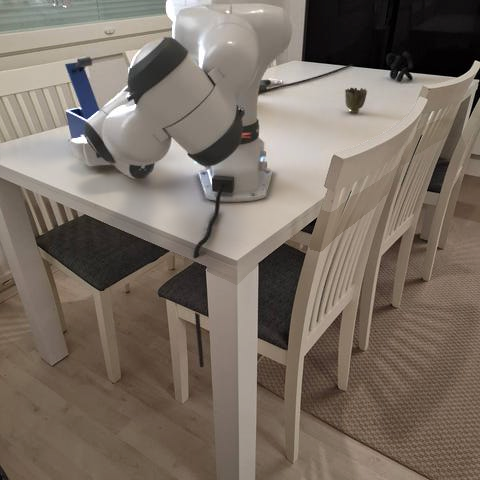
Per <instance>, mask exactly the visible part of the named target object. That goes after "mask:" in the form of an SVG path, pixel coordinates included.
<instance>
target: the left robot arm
mask: <svg viewBox="0 0 480 480" xmlns="http://www.w3.org/2000/svg"><path fill="white" fill-rule="evenodd" d="M61 2H62V6H63V7H65V8H71V7H72V5H73V3H72V0H51V4H52V5H54V6H60V5H61ZM206 4H231V2H230V0H166V3H165V11H166V15H167V16H168V18H169V19H170V21H171V22H172V23H173V22H174V19H175V17H176V15H177V14H178V12H179V11H180V10H181V9H185V8H189V7H193V6H198V5H206ZM193 60H194V61H195V62H196V63H197V64H198V65H199V60H196V59H193ZM353 66H354V65H353V63H351V64H349V65H346V66H343V67H340V68H337V69H334V70H332V71H328V72H326V73H323V74H319V75H316V76H313V77H312V76H311V77H310V78H306V79H302V80H298V81H294V82H290V83H287V84H282V85H277V86H274V87H270V88H269V87H268V88H266V89H265V90H262V91H260V92H258V94H261V93H265V92H270V91H273V90H277V89H282V88H286V87H290V86H294V85H299V84H301V83H305V82H309V81H312V80H315V79H319V78H322V77H325V76H328V75H331V74H333V73H336V72H339V71H342V70H345V69H347V68H351V67H353Z"/></svg>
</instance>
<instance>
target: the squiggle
mask: <svg viewBox="0 0 480 480" xmlns="http://www.w3.org/2000/svg"><path fill="white" fill-rule="evenodd" d="M401 57H402V59H401ZM391 59H392V60H391ZM393 60H394V61H393ZM385 61H386V64H387V67H390V68H391V70H390V72H389V78H390V79H391V80H395V79H396V81H397V82H399V83H400V82H402V81H403V79H404V76H406V78H407V80H408V81H412V80H413V79H414V77H413V75H412V74H411V73H410V72H409V71H410V70H412V69H413V68H414V64H413V61H412V57H411V54H410V53H409V52H408V51H403V53H402V54H401V55H396V54H394V53H392V52H390V53H387V55H386V57H385ZM406 62H407V65H408V66H407V67H405V66H404V65H405V64H406ZM400 70H401V71H400Z"/></svg>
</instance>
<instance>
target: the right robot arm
mask: <svg viewBox="0 0 480 480" xmlns="http://www.w3.org/2000/svg"><path fill="white" fill-rule="evenodd" d="M289 16H290V15H288V13H287V11H286V10H285V9H284V8H283V6H282V7H281V6H278V5H272V4H267V3H261V2H260V3H230V4H206V5H198V6H193V7H189V8H185V9H181V10H180V11H179V12H178V14H177V15H176V17H175V19H174V22H173V21H172V28H171V34H172V37H170V36H169V37H168V36H164V37H162V38H159V39H155V40H152V41H150V42H148V43H145V45H144V46H142V47H141V48H140V49H139V50H138V51H137V52H136V54H135V55H134V57H133V59H132V61H131V64H130V65H129V66H128V70H127V78H126V83H127V85H126V86H125V87H124V88H123V89H122V90H120V92H119V93H118V94H117V95H116V96H114V98H112V99H111V100H110V101H108V102H106V104H105V105H104V106H102V107H101V108H99V111H98V112H96V113H95V114H94V115H93V116H91V117H90V118H89V119H88V120H87V121H86V122H85V125H84V134H82V135H80V136H81V137H80V138H76V139H70V140H69V147H70V151H71V153H72V154H73V155H74V157H76V158H77V159H79V160H80V161H83V162H86V164H87V166H89V167H96V166H114V167H115V168H116V169H117V170H118V171H119V172H121V173H122V174H124V175H125V176H127V177H129V178H131V179H134V180H141V179H145V178H146V177H148V176H149V175H150V174H151V173H152V172H153V170H154V168H155V164H156V163H157V162H159V161H161V160H162V159H163V158H165V156H166V155H167V154H168V152H169V151H170V149H171V145H172V139H173V140H174V141H175V143H177V145H179V146H180V147H181V148H182V149H183V150H184V151H185V152H187V153H186V154H187V156H188V157H189V158H190V159H191V160H193V162H194V165H196V164H198V165H200V166H202V167H204V168H203V169H201V170H199V171H198V178H199V181H200V185H201V187H202V190H203V193H204V196H205V199H206V200H210V201H214V202H215V203H214V212H213V215H212V216H211V218H210V220H209V222H208V225H207V228H206V233H205V235H204V237H203V238H202V239H201V240H199V241H198V243H197V244H196V246H195V247H194V251H193V257H192V258H193V259H197V258H198V257H199V254H200V250H201V247H202V246H203V245H204V244H205V243H207V242H208V240H209V239H210V237H211V234H212V230H213V226H214V223H215V221H216V220H217V218H218V215H219V211H220V203H221V202H222V203H223V202H225V203H240V202H253V201H257V200H261V199H264V198H266V196H267V193H268V190H269V187H270V186H269V185H270V183H271V180H272V177H273V170H272V169H271V168H269V167H268V161H266V160H265V158H267V151H266V150H265V141H263V140H262V138H260V121H259V118H258V103H259V93H258V92H259V86H260V83H261V80H263V77H264V75H265V73H266V72H267V70H268V69H269V67H270V66H271V65H272V63H274V62H275V60H277V59H278V58H279V57H280V56H282V55H283V54H284V52H285V51H286V50H287V49H288V46H289V45H290V42H291V39H292V33H293V32H292V31H293V28H292V22H291V19H290V17H289ZM193 59H196V60H199V65H198V64H197V63H196V62H195V61H194V60H193ZM200 317H201V316H200V313H197V312H194V318H195V330H196V340H197V350H198V351H197V352H198V363H199V367H200V368H204V365H205V362H204V352H203V351H204V350H203V341H202V330H201V329H202V328H201V318H200Z"/></svg>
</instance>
